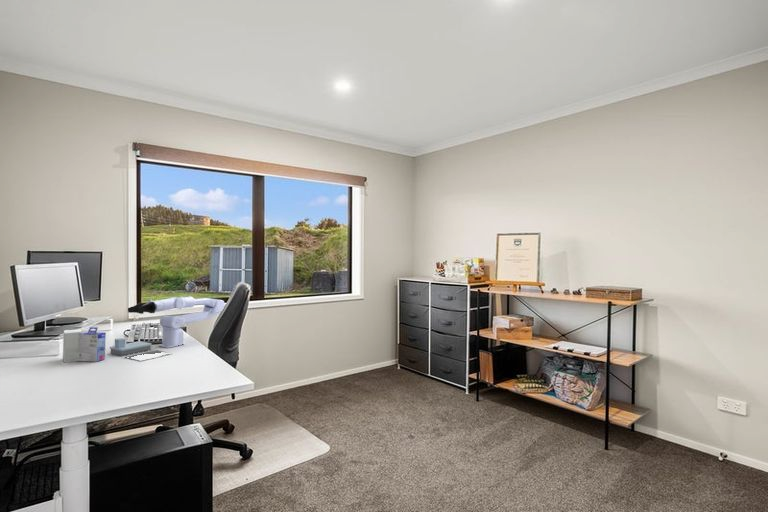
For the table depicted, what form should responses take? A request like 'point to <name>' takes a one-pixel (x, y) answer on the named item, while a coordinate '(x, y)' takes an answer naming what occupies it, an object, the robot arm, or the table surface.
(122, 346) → the lid
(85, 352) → the ink cartridge box
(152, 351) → the mat
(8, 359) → the table surface
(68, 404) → the table surface
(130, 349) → the tub
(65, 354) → the small box
